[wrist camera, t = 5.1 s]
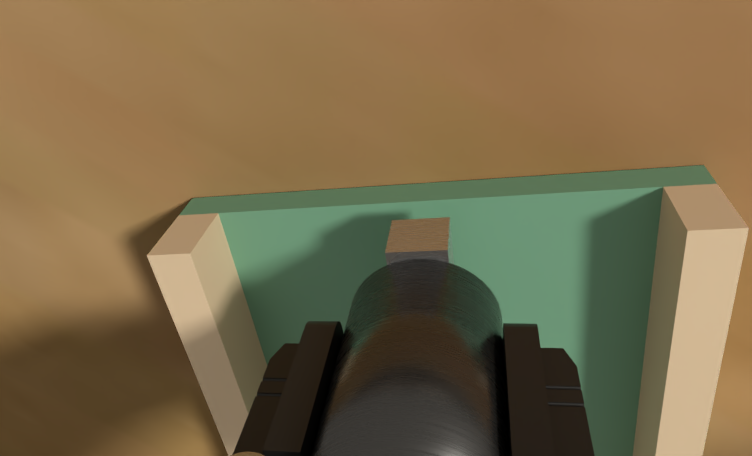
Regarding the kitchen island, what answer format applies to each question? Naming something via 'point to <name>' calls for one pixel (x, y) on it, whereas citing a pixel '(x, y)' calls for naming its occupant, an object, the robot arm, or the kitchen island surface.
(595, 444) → the pitch
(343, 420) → the striker
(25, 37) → the kitchen island surface
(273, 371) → the robot arm
